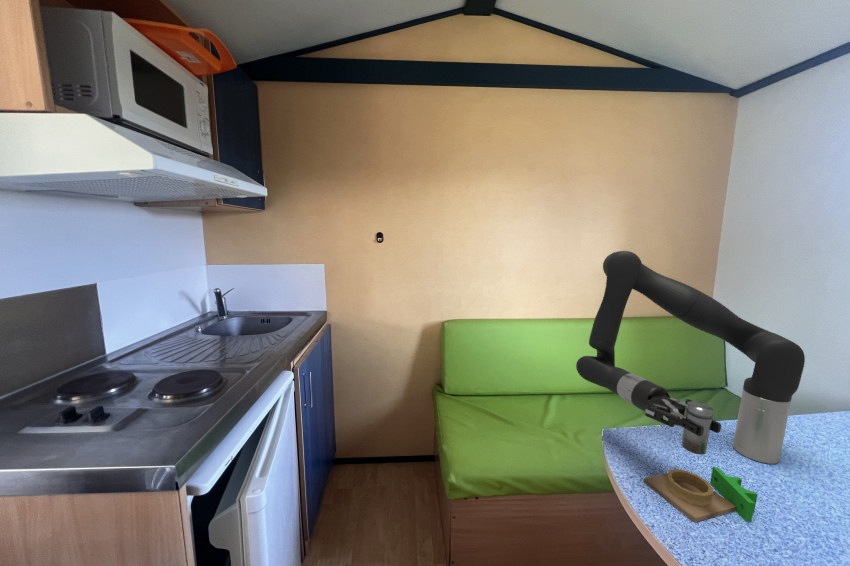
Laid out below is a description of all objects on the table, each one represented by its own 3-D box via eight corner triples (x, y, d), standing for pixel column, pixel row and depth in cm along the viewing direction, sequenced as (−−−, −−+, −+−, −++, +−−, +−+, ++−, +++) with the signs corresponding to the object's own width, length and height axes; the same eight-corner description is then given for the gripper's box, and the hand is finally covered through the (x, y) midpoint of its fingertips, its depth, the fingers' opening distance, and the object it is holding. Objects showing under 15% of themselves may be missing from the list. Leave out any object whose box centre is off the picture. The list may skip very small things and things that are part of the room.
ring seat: (681, 473, 86) (683, 460, 86) (735, 510, 75) (738, 496, 75) (643, 482, 83) (645, 468, 83) (694, 522, 72) (696, 507, 71)
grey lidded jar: (690, 440, 80) (697, 400, 79) (711, 453, 76) (719, 410, 74) (675, 443, 79) (682, 402, 77) (696, 456, 75) (703, 413, 73)
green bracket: (765, 524, 72) (769, 505, 71) (745, 522, 73) (748, 502, 72) (727, 485, 83) (730, 468, 82) (709, 483, 83) (712, 466, 83)
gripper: (621, 382, 88) (688, 418, 71) (664, 376, 91) (738, 410, 75) (617, 409, 89) (683, 451, 73) (660, 403, 93) (732, 441, 76)
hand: (710, 430), depth 74 cm, fingers closed on grey lidded jar, 4 cm apart
